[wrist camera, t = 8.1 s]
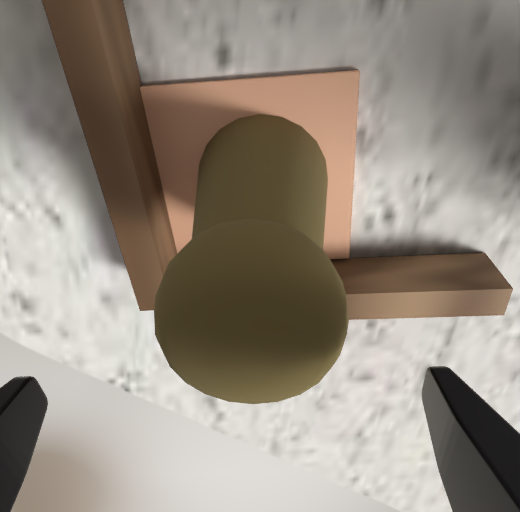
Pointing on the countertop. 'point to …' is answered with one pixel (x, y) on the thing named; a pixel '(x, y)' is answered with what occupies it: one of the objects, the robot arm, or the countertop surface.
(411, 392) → the countertop surface
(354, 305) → the corner arena
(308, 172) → the olive pepper mill
